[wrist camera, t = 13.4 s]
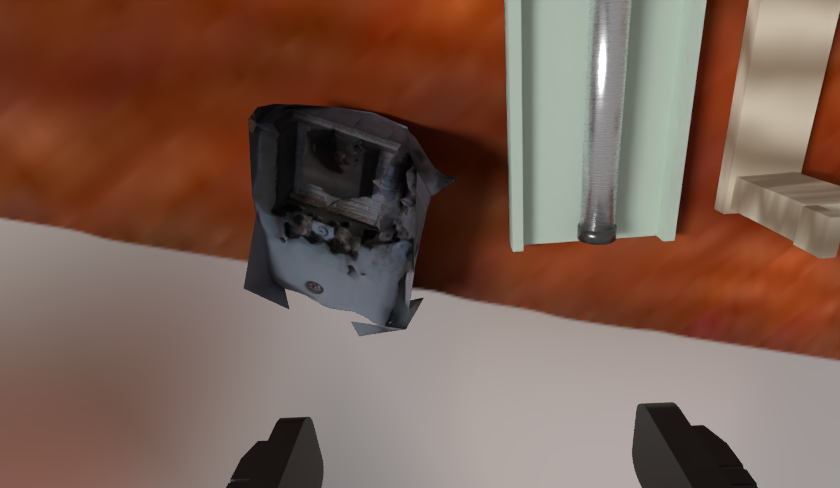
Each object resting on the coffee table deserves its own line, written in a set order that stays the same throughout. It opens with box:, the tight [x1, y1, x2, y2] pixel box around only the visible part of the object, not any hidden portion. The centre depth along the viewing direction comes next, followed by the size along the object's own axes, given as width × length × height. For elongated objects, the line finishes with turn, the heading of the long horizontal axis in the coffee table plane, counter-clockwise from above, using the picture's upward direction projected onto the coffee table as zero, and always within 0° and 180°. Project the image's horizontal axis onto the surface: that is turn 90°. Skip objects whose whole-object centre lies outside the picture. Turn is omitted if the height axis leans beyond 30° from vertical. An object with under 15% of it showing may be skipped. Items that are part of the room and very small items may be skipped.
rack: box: [714, 0, 840, 258], centre depth 31 cm, size 26×6×12 cm, turn 6°
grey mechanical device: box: [244, 104, 456, 336], centre depth 40 cm, size 18×20×9 cm
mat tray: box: [504, 0, 707, 252], centre depth 37 cm, size 30×15×2 cm, turn 6°
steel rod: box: [577, 0, 632, 245], centre depth 36 cm, size 28×3×3 cm, turn 6°
